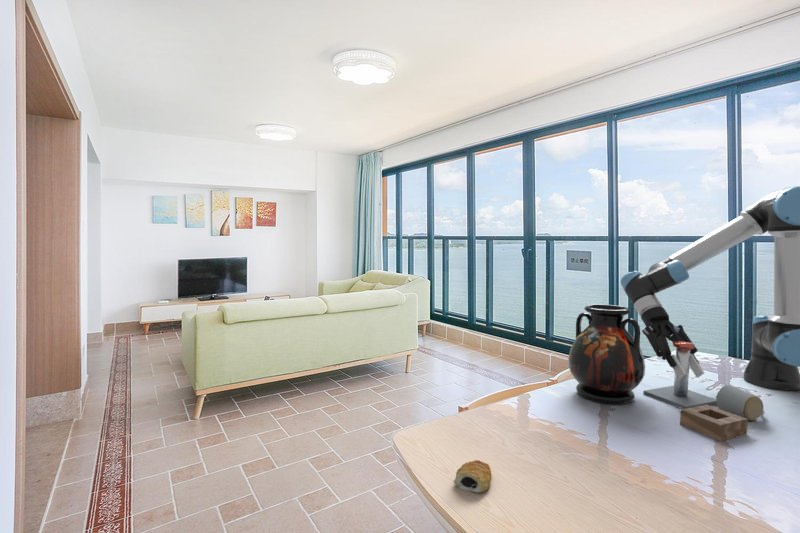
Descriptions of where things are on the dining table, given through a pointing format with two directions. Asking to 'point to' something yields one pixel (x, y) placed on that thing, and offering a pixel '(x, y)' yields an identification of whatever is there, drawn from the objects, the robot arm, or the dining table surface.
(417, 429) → the dining table surface
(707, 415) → the eye block
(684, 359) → the red-capped mushroom
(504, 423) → the dining table surface
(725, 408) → the ceramic mug
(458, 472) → the pastry
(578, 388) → the amphora vase
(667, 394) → the mat
